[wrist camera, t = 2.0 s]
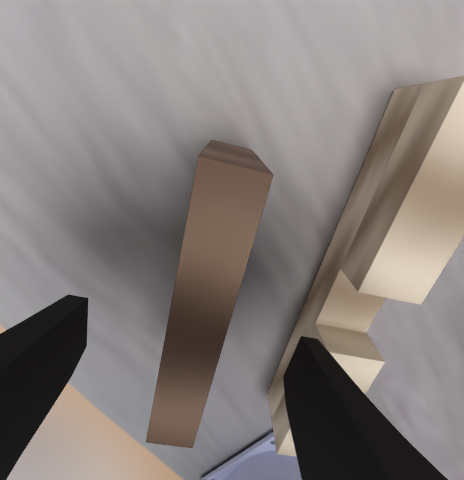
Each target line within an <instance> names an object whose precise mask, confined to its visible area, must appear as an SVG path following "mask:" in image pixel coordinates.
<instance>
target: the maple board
mask: <svg viewBox="0 0 464 480" xmlns="http://www.w3.org/2000/svg"><path fill="white" fill-rule="evenodd" d="M463 236H464V76H460V77H455V78H450V79H445V80H440V81H434V82H429V83H424V84H419V85H413V86H408V87H403V88H398V89H394V92H393V94H392V96H391V99H390V101H389V104H388V106H387V108H386V111H385V113H384V115H383V118H382V120H381V123H380V125H379V127H378V130H377V132H376V135H375V137H374V139H373V142H372V144H371V147H370V149H369V151H368V154H367V156H366V159H365V161H364V163H363V166H362V168H361V170H360V173H359V175H358V178H357V180H356V182H355V185H354V187H353V190H352V192H351V194H350V197H349V199H348V202H347V204H346V206H345V209H344V211H343V213H342V216H341V218H340V221H339V223H338V225H337V228H336V230H335V233H334V235H333V237H332V240H331V242H330V245H329V247H328V249H327V252H326V254H325V257H324V259H323V261H322V264H321V266H320V268H319V271H318V273H317V276H316V278H315V280H314V283H313V285H312V288H311V290H310V292H309V295H308V297H307V300H306V302H305V304H304V307H303V309H302V311H301V314H300V316H299V319H298V321H297V323H296V326H295V328H294V331H293V333H292V335H291V338H290V340H289V343H288V345H287V347H286V350H285V352H284V354H283V357H282V359H281V362H280V364H279V366H278V369H277V371H276V374H275V376H274V378H273V381H272V383H271V386H270V388H269V390H268V399H269V406H270V412H271V419H272V426H273V432H274V439H275V446H276V452H277V454H280V455H288V456H296V451H295V447H294V442H293V438H292V433H291V429H290V424H289V420H288V415H287V410H286V403H285V394H284V383H283V376H284V374H285V371H286V369H287V367H288V364H289V362H290V360H291V358H292V355H293V353H294V351H295V349H296V346H297V344H298V342H299V339H300V337H301V336H304V337H310V338H316V339H318V340H319V341H320V342H321V343H322V344H323V345H324V347H325V348H326V349H327V350H328V351H329V353H330V354H331V355H332V356H333V357H334V358H335V360H336V361H337V362H338V363H339V365H340V366H341V367H342V368H343V369H344V371H345V372H346V373H347V374H348V375H349V376H350V378H351V379H352V380H353V381H354V382H355V384H356V385H357V386H358V387H359V388H360V389H361V391H362V392H363V393H364V394H365V393H366V392H367V390H368V389H369V387H370V385H371V384H372V382H373V381H374V379H375V377H376V376H377V374H378V373H379V371H380V369H381V368H382V366H383V365H384V363H385V361H384V359H383V358H382V356H381V355H380V353H379V352H378V350H377V349H376V347H375V346H374V344H373V343H372V341H371V340H370V338H369V337H368V335H367V334H366V332H367V330H368V328H369V327H370V325H371V323H372V321H373V319H374V318H375V316H376V314H377V312H378V310H379V309H380V307H381V305H382V303H383V301H384V300H385V298H391V299H395V300H400V301H405V302H410V303H415V304H420V305H421V304H422V302H423V300H424V299H425V297H426V296H427V294H428V292H429V291H430V289H431V288H432V286H433V284H434V283H435V281H436V280H437V278H438V276H439V275H440V273H441V272H442V270H443V268H444V267H445V265H446V264H447V262H448V260H449V259H450V257H451V255H452V254H453V252H454V251H455V249H456V247H457V246H458V244H459V243H460V241H461V239H462V238H463ZM296 457H297V456H296Z"/></svg>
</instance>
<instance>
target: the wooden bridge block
mask: <svg viewBox="0 0 464 480" xmlns="http://www.w3.org/2000/svg"><path fill="white" fill-rule="evenodd" d="M272 178H273V174H272V172H271V171H270V170H269V169H268V168H267V167H266V166H265V164H264V163H263V162H262V161H261V160H260V159H259V158H258V156H257V155H256V154H255V153H254V152H253V151H252V150H249V149H245V148H241V147H237V146H233V145H229V144H225V143H221V142H217V141H213V140H211V141H210V143H209V144H208V145H207V146H206V148H205V149H204V150H203V151H202V153H201V154H200V155H199V156H198V162H197V167H196V173H195V178H194V183H193V189H192V194H191V200H190V205H189V211H188V216H187V221H186V227H185V232H184V238H183V243H182V249H181V254H180V259H179V265H178V270H177V276H176V281H175V287H174V292H173V298H172V303H171V308H170V314H169V319H168V325H167V330H166V336H165V341H164V346H163V352H162V357H161V363H160V368H159V374H158V379H157V384H156V390H155V395H154V401H153V406H152V412H151V417H150V422H149V428H148V433H147V439H146V442H147V443H155V444H163V445H171V446H179V447H187V448H193V444H194V441H195V438H196V434H197V431H198V428H199V424H200V421H201V417H202V414H203V411H204V407H205V404H206V401H207V397H208V394H209V390H210V387H211V384H212V380H213V377H214V374H215V370H216V367H217V363H218V360H219V357H220V353H221V350H222V347H223V343H224V340H225V336H226V333H227V330H228V326H229V323H230V320H231V316H232V313H233V309H234V306H235V303H236V299H237V296H238V293H239V289H240V286H241V282H242V279H243V276H244V272H245V269H246V266H247V262H248V259H249V255H250V252H251V249H252V245H253V242H254V239H255V235H256V232H257V228H258V225H259V222H260V218H261V215H262V212H263V208H264V205H265V201H266V198H267V195H268V191H269V188H270V185H271V181H272Z"/></svg>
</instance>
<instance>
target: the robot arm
mask: <svg viewBox="0 0 464 480" xmlns="http://www.w3.org/2000/svg"><path fill="white" fill-rule="evenodd" d="M87 317H88V298H84V297H79V296H73V295H67V296H65V297H63V298H62V299H60V300H58V301H57V302H55V303H53V304H51V305H50V306H48V307H46V308H45V309H43V310H41V311H39V312H38V313H36V314H34V315H33V316H31V317H29V318H27V319H26V320H24V321H22V322H21V323H19V324H17V325H15V326H14V327H12V328H10V329H8V330H6V331H5V332H3V333H1V334H0V480H6V479H7V477H8V476H9V474H10V472H11V470H12V469H13V467H14V466H15V464H16V462H17V461H18V459H19V457H20V456H21V454H22V453H23V451H24V449H25V448H26V446H27V445H28V443H29V442H30V440H31V439H32V437H33V435H34V434H35V432H36V431H37V429H38V428H39V426H40V425H41V423H42V422H43V420H44V418H45V417H46V415H47V414H48V412H49V411H50V409H51V408H52V406H53V405H54V403H55V401H56V400H57V398H58V397H59V395H60V393H61V392H62V390H63V389H64V387H65V386H66V384H67V383H68V381H69V379H70V378H71V376H72V374H73V372H74V370H75V368H76V366H77V364H78V362H79V360H80V358H81V356H82V354H83V352H84V350H85V348H86V345H87ZM283 383H284V394H285V403H286V410H287V415H288V420H289V424H290V429H291V433H292V438H293V442H294V447H295V451H296V456H297V457H296V456H288V455H280V454H277V452H276V446H275V439H274V432H272V433H271V434H269V435H268V436H266V437H265V438H263V439H262V440H260V441H258V442H257V443H255V444H254V445H252V446H251V447H249V448H248V449H246V450H245V451H243V452H241V453H240V454H238V455H237V456H235V457H234V458H232V459H231V460H229V461H228V462H226V463H225V464H223V465H221V466H220V467H218V468H217V469H215V470H214V471H212V472H211V473H209V474H208V475H206V476H204V477H203V478H202V479H201V480H448V479H447V478H446V477H444V476H443V475H442V474H441V473H440V472H439V471H438V470H437V469H436V468H435V467H434V466H433V465H432V464H431V463H430V462H429V461H428V460H427V459H426V458H425V457H424V456H423V455H422V454H421V453H419V452H418V451H417V450H416V449H415V448H414V447H413V446H412V445H411V444H410V443H409V442H408V441H407V440H406V439H405V438H404V437H403V436H402V435H401V433H400V432H399V431H398V430H397V429H396V428H395V427H394V426H393V425H392V424H391V423H390V422H389V421H388V420H387V418H386V417H385V416H384V415H383V414H382V413H381V412H380V411H379V410H378V409H377V408H376V406H375V405H374V404H373V403H372V402H371V401H370V400H369V399H368V397H367V396H366V395H365V394H364V393H363V392H362V391H361V389H360V388H359V387H358V386H357V385H356V384H355V382H354V381H353V380H352V379H351V378H350V376H349V375H348V374H347V373H346V372H345V371H344V369H343V368H342V367H341V366H340V365H339V363H338V362H337V361H336V360H335V358H334V357H333V356H332V355H331V354H330V353H329V351H328V350H327V349H326V348H325V347H324V345H323V344H322V343H321V342H320V341H319V340H318V339H316V338H310V337H304V336H301V337H300V339H299V342H298V344H297V346H296V349H295V351H294V353H293V355H292V358H291V360H290V362H289V364H288V367H287V369H286V371H285V374H284V376H283Z"/></svg>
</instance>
